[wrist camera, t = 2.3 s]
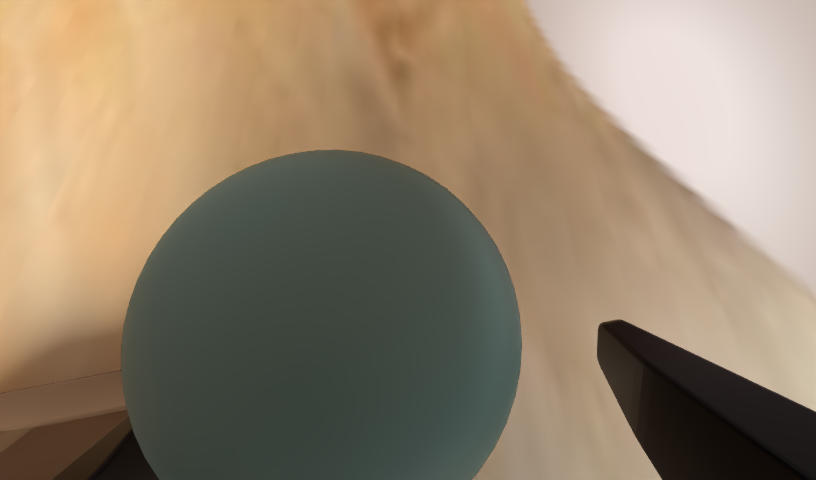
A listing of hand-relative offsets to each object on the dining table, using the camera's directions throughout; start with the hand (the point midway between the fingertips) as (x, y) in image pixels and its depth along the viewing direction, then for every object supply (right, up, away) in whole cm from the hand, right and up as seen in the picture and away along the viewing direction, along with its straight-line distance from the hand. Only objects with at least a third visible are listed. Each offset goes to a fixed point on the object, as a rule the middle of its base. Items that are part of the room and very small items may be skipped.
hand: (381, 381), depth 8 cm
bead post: (0, -2, +9) cm, 9 cm away
